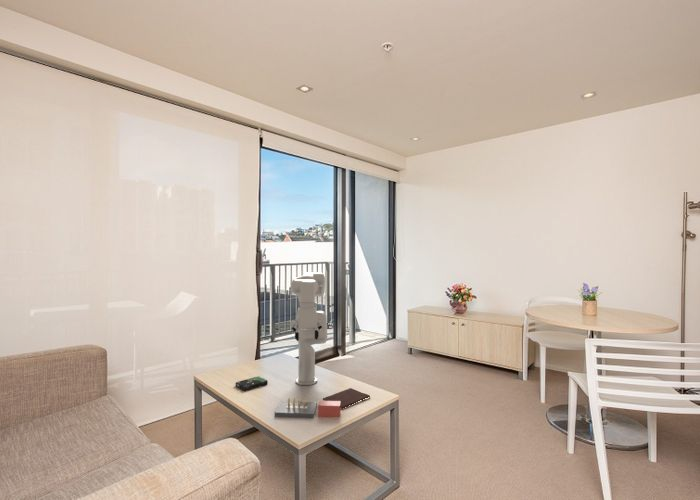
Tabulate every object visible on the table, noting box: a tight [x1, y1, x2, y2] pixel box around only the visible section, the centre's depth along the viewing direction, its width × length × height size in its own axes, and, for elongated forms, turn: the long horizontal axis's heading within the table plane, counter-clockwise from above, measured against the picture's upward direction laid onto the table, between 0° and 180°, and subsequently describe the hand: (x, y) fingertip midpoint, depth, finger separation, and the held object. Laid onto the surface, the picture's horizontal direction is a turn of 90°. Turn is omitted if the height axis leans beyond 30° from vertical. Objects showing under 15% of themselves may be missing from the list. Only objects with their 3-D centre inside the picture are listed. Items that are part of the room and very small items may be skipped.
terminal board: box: [274, 397, 318, 419], centre depth 167 cm, size 12×18×6 cm, turn 87°
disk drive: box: [235, 375, 269, 392], centre depth 199 cm, size 10×3×15 cm
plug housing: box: [317, 400, 342, 418], centre depth 165 cm, size 5×10×6 cm, turn 87°
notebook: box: [322, 387, 371, 410], centre depth 182 cm, size 15×20×2 cm
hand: (306, 339), depth 176 cm, fingers open, 9 cm apart
